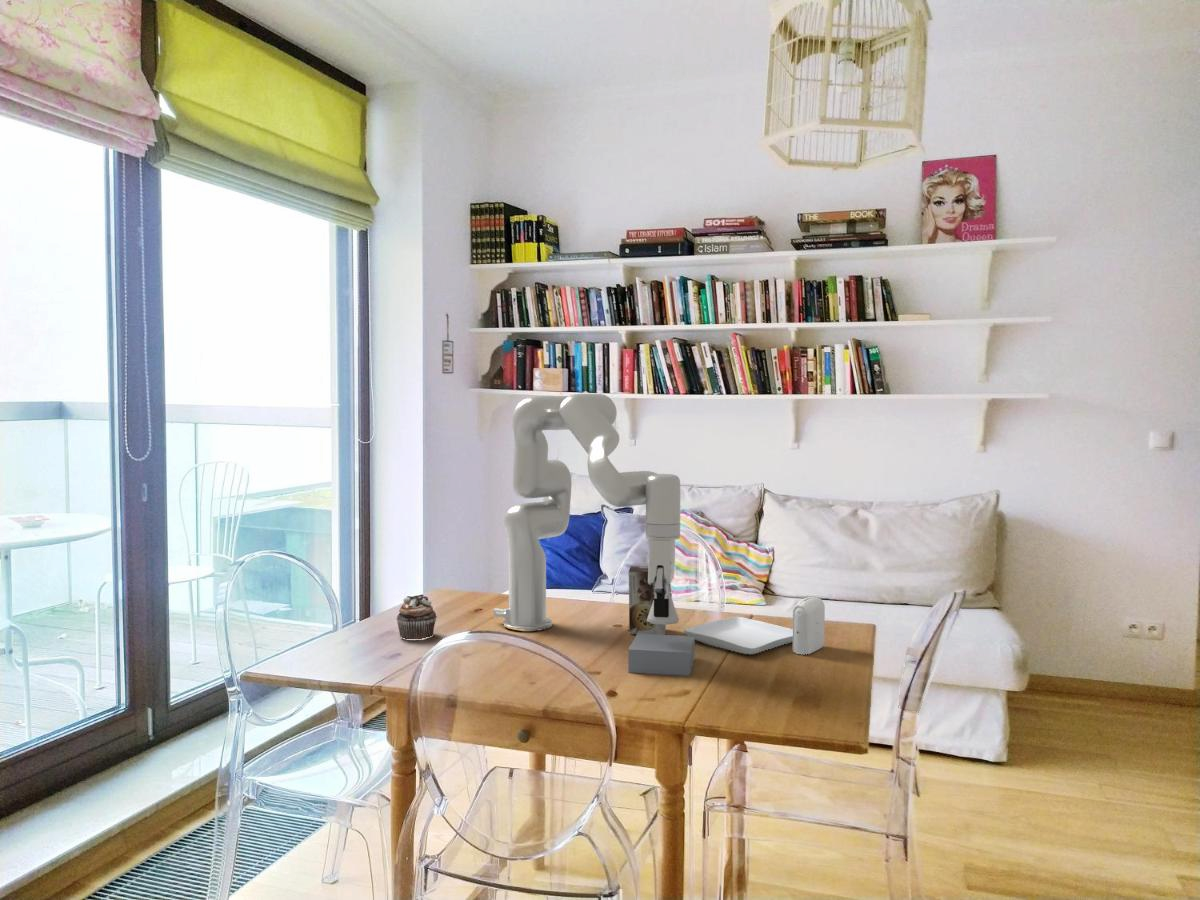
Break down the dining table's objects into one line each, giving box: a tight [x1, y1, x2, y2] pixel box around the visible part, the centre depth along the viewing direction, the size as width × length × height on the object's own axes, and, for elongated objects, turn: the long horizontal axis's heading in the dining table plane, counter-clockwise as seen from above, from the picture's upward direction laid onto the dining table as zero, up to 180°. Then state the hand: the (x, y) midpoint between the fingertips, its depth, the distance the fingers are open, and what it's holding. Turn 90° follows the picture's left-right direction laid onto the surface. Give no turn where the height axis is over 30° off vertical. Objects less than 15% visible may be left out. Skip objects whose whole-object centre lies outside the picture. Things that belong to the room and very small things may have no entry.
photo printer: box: [792, 596, 826, 656], centre depth 206 cm, size 10×4×12 cm, turn 141°
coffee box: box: [628, 565, 667, 635], centre depth 222 cm, size 9×6×16 cm
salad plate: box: [683, 615, 793, 656], centre depth 213 cm, size 21×21×3 cm
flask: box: [647, 579, 680, 626], centre depth 193 cm, size 7×7×10 cm
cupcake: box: [396, 594, 437, 639], centre depth 217 cm, size 10×10×10 cm
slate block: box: [627, 634, 696, 677], centre depth 194 cm, size 13×13×5 cm
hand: (662, 612), depth 194 cm, fingers closed on flask, 4 cm apart
